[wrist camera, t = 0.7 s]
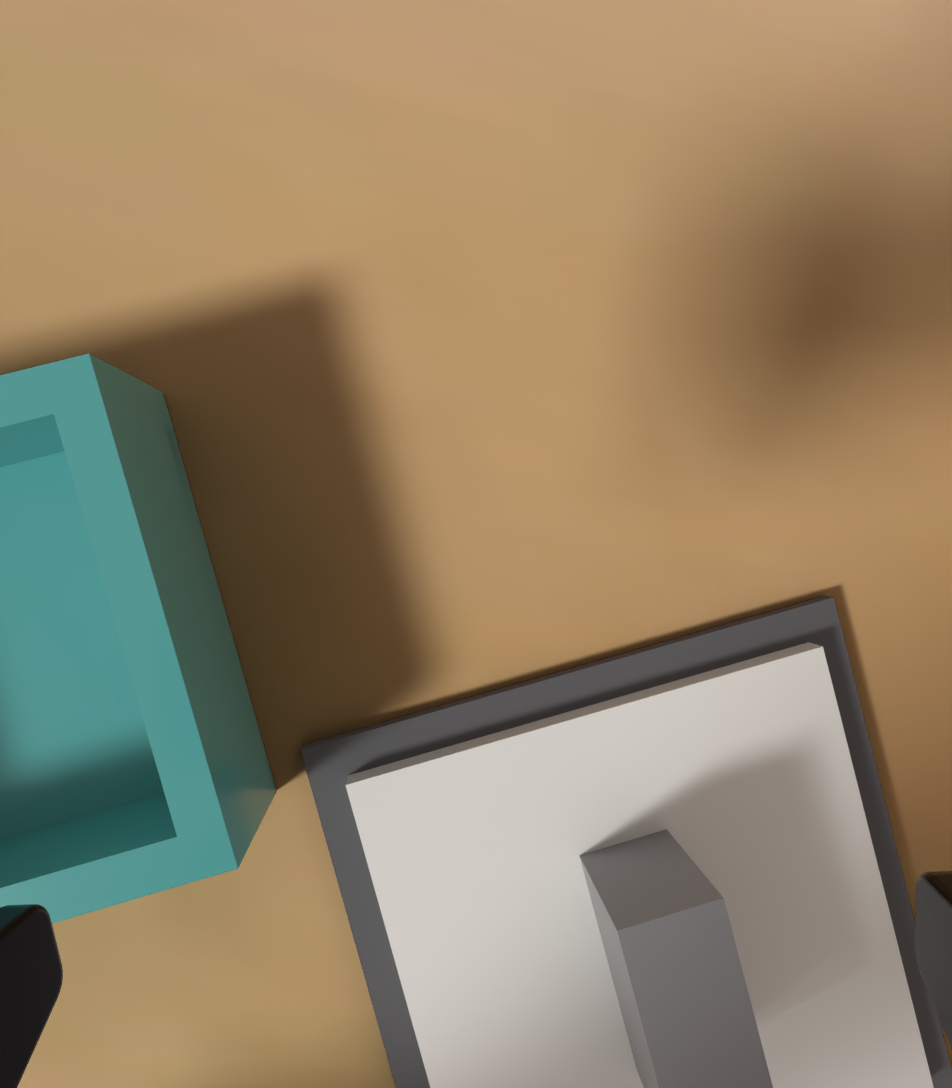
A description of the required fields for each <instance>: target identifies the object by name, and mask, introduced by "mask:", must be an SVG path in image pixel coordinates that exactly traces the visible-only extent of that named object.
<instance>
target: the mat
mask: <svg viewBox="0 0 952 1088" xmlns="http://www.w3.org/2000/svg"><path fill="white" fill-rule="evenodd" d="M807 642H810V643H813V644H816V645H820V646H823V649H824V653H825V657H826V661H827V665H828V669H829V673H830V677H831V681H832V685H833V689H834V693H835V697H836V701H837V705H838V709H839V713H840V716H841V720H842V724H843V728H844V732H845V736H846V740H847V744H848V748H849V752H850V756H851V760H852V764H853V768H854V772H855V776H856V780H857V784H858V788H859V792H860V796H861V800H862V804H863V808H864V812H865V816H866V820H867V824H868V828H869V832H870V836H871V840H872V844H873V848H874V852H875V856H876V860H877V864H878V868H879V872H880V876H881V880H882V884H883V888H884V892H885V896H886V900H887V904H888V908H889V911H890V915H891V919H892V923H893V927H894V931H895V935H896V939H897V943H898V947H899V951H900V955H901V959H902V963H903V967H904V971H905V975H906V979H907V983H908V987H909V991H910V995H911V999H912V1003H913V1007H914V1011H915V1015H916V1019H917V1023H918V1027H919V1031H920V1035H921V1039H922V1043H923V1047H924V1051H925V1055H926V1059H927V1063H928V1067H929V1071H930V1075H931V1079H932V1083H933V1087H934V1088H952V1068H951V1064H950V1060H949V1056H948V1052H947V1048H946V1044H945V1040H944V1036H943V1032H942V1028H941V1024H940V1020H939V1016H938V1013H937V1011H936V1009H935V1006H934V1004H933V1002H932V999H931V997H930V994H929V992H928V990H927V987H926V985H925V982H924V980H923V978H922V975H921V973H920V970H919V967H918V963H917V959H916V954H915V920H914V916H913V912H912V908H911V904H910V900H909V896H908V892H907V888H906V884H905V880H904V876H903V872H902V868H901V864H900V860H899V856H898V852H897V848H896V844H895V840H894V836H893V832H892V828H891V824H890V820H889V816H888V812H887V808H886V804H885V800H884V796H883V792H882V788H881V784H880V780H879V776H878V772H877V768H876V764H875V760H874V756H873V752H872V748H871V744H870V740H869V736H868V732H867V728H866V724H865V720H864V716H863V712H862V708H861V704H860V700H859V696H858V692H857V688H856V684H855V680H854V676H853V672H852V668H851V664H850V660H849V656H848V652H847V648H846V644H845V640H844V636H843V632H842V628H841V624H840V620H839V616H838V612H837V608H836V604H835V600H834V597H829V596H822V597H819V598H815V599H812V600H808V601H805V602H801V603H798V604H794V605H791V606H787V607H784V608H780V609H777V610H773V611H770V612H766V613H763V614H759V615H756V616H752V617H749V618H745V619H742V620H738V621H735V622H731V623H728V624H724V625H721V626H717V627H714V628H710V629H707V630H703V631H700V632H696V633H693V634H689V635H686V636H682V637H679V638H675V639H672V640H668V641H665V642H661V643H658V644H654V645H651V646H647V647H644V648H640V649H637V650H633V651H630V652H626V653H623V654H619V655H616V656H612V657H609V658H605V659H602V660H598V661H595V662H591V663H588V664H584V665H581V666H577V667H574V668H570V669H567V670H563V671H560V672H556V673H553V674H550V675H546V676H543V677H539V678H536V679H532V680H529V681H525V682H522V683H518V684H515V685H511V686H508V687H504V688H501V689H497V690H494V691H490V692H487V693H483V694H480V695H476V696H473V697H469V698H466V699H462V700H459V701H455V702H452V703H448V704H445V705H441V706H438V707H434V708H431V709H427V710H424V711H420V712H417V713H413V714H410V715H406V716H403V717H399V718H396V719H392V720H389V721H385V722H382V723H378V724H375V725H371V726H368V727H364V728H361V729H357V730H354V731H350V732H347V733H343V734H340V735H336V736H333V737H329V738H326V739H322V740H319V741H315V742H312V743H308V744H305V745H303V746H302V748H301V754H302V757H303V761H304V764H305V768H306V771H307V775H308V778H309V782H310V785H311V789H312V792H313V796H314V799H315V803H316V807H317V810H318V814H319V817H320V821H321V824H322V828H323V831H324V835H325V838H326V842H327V845H328V849H329V852H330V856H331V859H332V863H333V867H334V870H335V874H336V877H337V881H338V884H339V888H340V891H341V895H342V898H343V902H344V905H345V909H346V912H347V916H348V920H349V923H350V927H351V930H352V934H353V937H354V941H355V944H356V948H357V951H358V955H359V958H360V962H361V965H362V969H363V973H364V976H365V980H366V983H367V987H368V990H369V994H370V997H371V1001H372V1004H373V1008H374V1011H375V1015H376V1018H377V1022H378V1025H379V1029H380V1033H381V1036H382V1040H383V1043H384V1047H385V1050H386V1054H387V1057H388V1061H389V1064H390V1068H391V1071H392V1075H393V1078H394V1082H395V1086H396V1088H430V1084H429V1081H428V1077H427V1074H426V1070H425V1067H424V1063H423V1060H422V1056H421V1052H420V1049H419V1045H418V1042H417V1038H416V1035H415V1031H414V1028H413V1024H412V1020H411V1017H410V1013H409V1010H408V1006H407V1003H406V999H405V996H404V992H403V988H402V985H401V981H400V978H399V974H398V971H397V967H396V964H395V960H394V956H393V953H392V949H391V946H390V942H389V939H388V935H387V931H386V928H385V924H384V921H383V917H382V914H381V910H380V907H379V903H378V899H377V896H376V892H375V889H374V885H373V882H372V878H371V875H370V871H369V867H368V864H367V860H366V857H365V853H364V850H363V846H362V843H361V839H360V835H359V832H358V828H357V825H356V821H355V818H354V814H353V811H352V807H351V803H350V800H349V796H348V793H347V789H346V786H345V785H346V781H347V777H348V775H352V774H355V773H359V772H362V771H365V770H369V769H372V768H376V767H379V766H383V765H386V764H390V763H393V762H397V761H400V760H403V759H407V758H410V757H414V756H417V755H421V754H424V753H428V752H431V751H434V750H438V749H441V748H445V747H448V746H452V745H455V744H459V743H462V742H466V741H469V740H472V739H476V738H479V737H483V736H486V735H490V734H493V733H497V732H500V731H504V730H507V729H510V728H514V727H517V726H521V725H524V724H528V723H531V722H535V721H538V720H542V719H545V718H548V717H552V716H555V715H559V714H562V713H566V712H569V711H573V710H576V709H579V708H583V707H586V706H590V705H593V704H597V703H600V702H604V701H607V700H611V699H614V698H617V697H621V696H624V695H628V694H631V693H635V692H638V691H642V690H645V689H649V688H652V687H655V686H659V685H662V684H666V683H669V682H673V681H676V680H680V679H683V678H687V677H690V676H693V675H697V674H700V673H704V672H707V671H711V670H714V669H718V668H721V667H725V666H728V665H731V664H735V663H738V662H742V661H745V660H749V659H752V658H756V657H759V656H762V655H766V654H769V653H773V652H776V651H780V650H783V649H787V648H790V647H794V646H797V645H800V644H804V643H807Z"/></svg>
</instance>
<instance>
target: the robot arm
mask: <svg viewBox="0 0 952 1088" xmlns="http://www.w3.org/2000/svg"><path fill="white" fill-rule="evenodd" d="M915 954H916V959H917V963H918V967H919V970H920V973H921V975H922V978H923V980H924V982H925V985H926V987H927V990H928V992H929V994H930V997H931V999H932V1002H933V1004H934V1006H935V1009H936V1011H937V1013H938V1016H939V1018H940V1021H941V1023H942V1025H943V1028H944V1030H945V1032H946V1035H947V1037H948V1040H949V1042H950V1044H951V1047H952V871H940V872H925V873H923V874H922V875H921V876H920V877H919V879H918V882H917V887H916V912H915ZM62 978H63V970H62V964H61V960H60V956H59V952H58V947H57V943H56V939H55V935H54V931H53V927H52V923H51V918H50V915H49V913H48V911H47V910H46V909H45V908H44V907H43V906H41V905H39V904H27V905H7V906H3V907H0V1088H17V1086H18V1084H19V1082H20V1080H21V1078H22V1075H23V1073H24V1071H25V1069H26V1067H27V1064H28V1062H29V1060H30V1058H31V1055H32V1053H33V1051H34V1049H35V1047H36V1044H37V1042H38V1040H39V1038H40V1036H41V1033H42V1031H43V1029H44V1027H45V1025H46V1022H47V1020H48V1018H49V1016H50V1013H51V1011H52V1009H53V1007H54V1005H55V1002H56V1000H57V998H58V995H59V993H60V989H61V985H62Z"/></svg>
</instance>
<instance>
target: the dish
mask: <svg viewBox="0 0 952 1088" xmlns="http://www.w3.org/2000/svg"><path fill="white" fill-rule="evenodd" d="M276 791H277V790H276V787H275V783H274V780H273V776H272V773H271V769H270V766H269V762H268V759H267V755H266V752H265V748H264V745H263V741H262V738H261V734H260V731H259V727H258V724H257V720H256V717H255V713H254V710H253V706H252V703H251V699H250V696H249V692H248V689H247V685H246V682H245V678H244V675H243V671H242V668H241V664H240V661H239V657H238V654H237V650H236V647H235V643H234V640H233V636H232V633H231V629H230V626H229V622H228V619H227V615H226V612H225V608H224V605H223V601H222V598H221V594H220V591H219V587H218V584H217V580H216V577H215V573H214V570H213V566H212V562H211V559H210V555H209V552H208V548H207V545H206V541H205V538H204V534H203V531H202V527H201V524H200V520H199V517H198V513H197V510H196V506H195V503H194V499H193V496H192V492H191V489H190V485H189V482H188V478H187V475H186V471H185V468H184V464H183V461H182V457H181V454H180V450H179V447H178V443H177V440H176V436H175V433H174V429H173V426H172V422H171V419H170V415H169V412H168V408H167V405H166V401H165V398H164V394H163V392H162V391H160V390H158V389H156V388H154V387H152V386H150V385H149V384H147V383H145V382H143V381H141V380H139V379H137V378H135V377H133V376H131V375H129V374H128V373H126V372H124V371H122V370H120V369H118V368H116V367H114V366H112V365H110V364H108V363H107V362H105V361H103V360H101V359H99V358H97V357H95V356H93V355H91V354H85V355H80V356H76V357H72V358H68V359H64V360H60V361H56V362H52V363H48V364H44V365H40V366H36V367H32V368H28V369H24V370H20V371H16V372H12V373H8V374H4V375H0V907H3V906H7V905H27V904H39V905H41V906H43V907H44V908H45V909H46V910H47V911H48V913H49V915H50V918H51V923H55V922H58V921H62V920H65V919H68V918H72V917H75V916H78V915H82V914H85V913H89V912H92V911H95V910H99V909H102V908H106V907H109V906H112V905H116V904H119V903H123V902H126V901H129V900H133V899H136V898H140V897H143V896H146V895H150V894H153V893H157V892H160V891H163V890H167V889H170V888H173V887H177V886H180V885H184V884H187V883H190V882H194V881H197V880H201V879H204V878H207V877H211V876H214V875H218V874H221V873H224V872H228V871H231V870H235V869H238V867H239V865H240V863H241V861H242V859H243V857H244V855H245V853H246V851H247V849H248V847H249V845H250V843H251V841H252V839H253V837H254V835H255V833H256V831H257V829H258V827H259V825H260V823H261V821H262V819H263V817H264V815H265V813H266V811H267V809H268V807H269V805H270V803H271V801H272V799H273V797H274V795H275V793H276Z"/></svg>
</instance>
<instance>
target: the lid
mask: <svg viewBox="0 0 952 1088" xmlns="http://www.w3.org/2000/svg"><path fill="white" fill-rule="evenodd" d="M345 786H346V789H347V793H348V796H349V800H350V803H351V807H352V811H353V814H354V818H355V821H356V825H357V828H358V832H359V835H360V839H361V843H362V846H363V850H364V853H365V857H366V860H367V864H368V867H369V871H370V875H371V878H372V882H373V885H374V889H375V892H376V896H377V899H378V903H379V907H380V910H381V914H382V917H383V921H384V924H385V928H386V931H387V935H388V939H389V942H390V946H391V949H392V953H393V956H394V960H395V964H396V967H397V971H398V974H399V978H400V981H401V985H402V988H403V992H404V996H405V999H406V1003H407V1006H408V1010H409V1013H410V1017H411V1020H412V1024H413V1028H414V1031H415V1035H416V1038H417V1042H418V1045H419V1049H420V1052H421V1056H422V1060H423V1063H424V1067H425V1070H426V1074H427V1077H428V1081H429V1084H430V1088H934V1087H933V1083H932V1079H931V1075H930V1071H929V1067H928V1063H927V1059H926V1055H925V1051H924V1047H923V1043H922V1039H921V1035H920V1031H919V1027H918V1023H917V1019H916V1015H915V1011H914V1007H913V1003H912V999H911V995H910V991H909V987H908V983H907V979H906V975H905V971H904V967H903V963H902V959H901V955H900V951H899V947H898V943H897V939H896V935H895V931H894V927H893V923H892V919H891V915H890V911H889V908H888V904H887V900H886V896H885V892H884V888H883V884H882V880H881V876H880V872H879V868H878V864H877V860H876V856H875V852H874V848H873V844H872V840H871V836H870V832H869V828H868V824H867V820H866V816H865V812H864V808H863V804H862V800H861V796H860V792H859V788H858V784H857V780H856V776H855V772H854V768H853V764H852V760H851V756H850V752H849V748H848V744H847V740H846V736H845V732H844V728H843V724H842V720H841V716H840V713H839V709H838V705H837V701H836V697H835V693H834V689H833V685H832V681H831V677H830V673H829V669H828V665H827V661H826V657H825V653H824V649H823V646H820V645H816V644H813V643H810V642H807V643H804V644H800V645H797V646H794V647H790V648H787V649H783V650H780V651H776V652H773V653H769V654H766V655H762V656H759V657H756V658H752V659H749V660H745V661H742V662H738V663H735V664H731V665H728V666H725V667H721V668H718V669H714V670H711V671H707V672H704V673H700V674H697V675H693V676H690V677H687V678H683V679H680V680H676V681H673V682H669V683H666V684H662V685H659V686H655V687H652V688H649V689H645V690H642V691H638V692H635V693H631V694H628V695H624V696H621V697H617V698H614V699H611V700H607V701H604V702H600V703H597V704H593V705H590V706H586V707H583V708H579V709H576V710H573V711H569V712H566V713H562V714H559V715H555V716H552V717H548V718H545V719H542V720H538V721H535V722H531V723H528V724H524V725H521V726H517V727H514V728H510V729H507V730H504V731H500V732H497V733H493V734H490V735H486V736H483V737H479V738H476V739H472V740H469V741H466V742H462V743H459V744H455V745H452V746H448V747H445V748H441V749H438V750H434V751H431V752H428V753H424V754H421V755H417V756H414V757H410V758H407V759H403V760H400V761H397V762H393V763H390V764H386V765H383V766H379V767H376V768H372V769H369V770H365V771H362V772H359V773H355V774H352V775H348V777H347V781H346V785H345Z"/></svg>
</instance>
